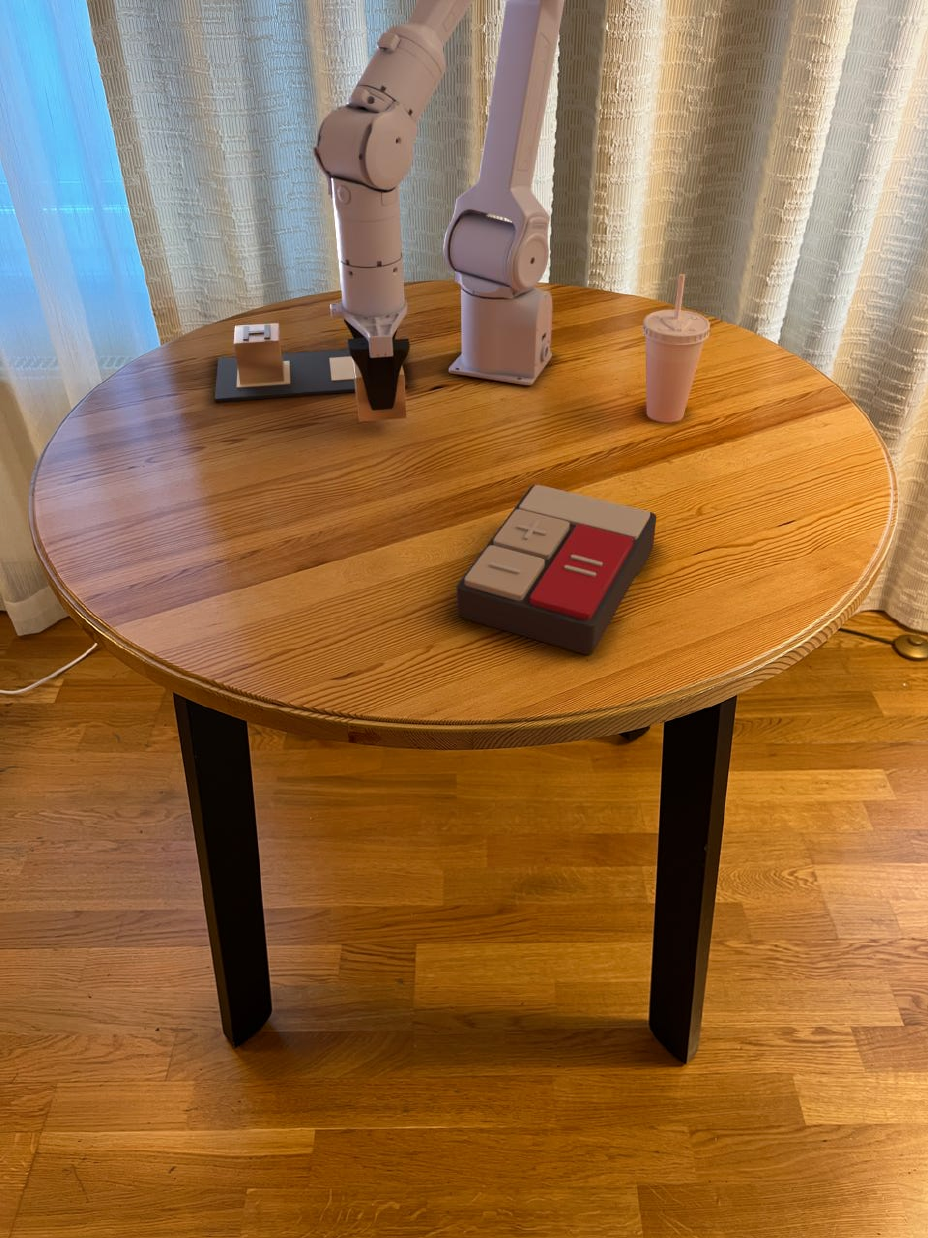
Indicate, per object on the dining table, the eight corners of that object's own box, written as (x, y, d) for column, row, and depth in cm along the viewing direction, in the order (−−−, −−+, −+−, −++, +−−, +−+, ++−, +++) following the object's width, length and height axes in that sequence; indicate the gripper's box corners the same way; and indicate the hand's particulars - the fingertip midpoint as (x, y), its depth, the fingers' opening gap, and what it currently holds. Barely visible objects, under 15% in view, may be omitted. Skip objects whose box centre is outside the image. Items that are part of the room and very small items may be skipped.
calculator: (453, 579, 75) (532, 475, 85) (455, 622, 78) (531, 517, 88) (594, 619, 72) (659, 505, 82) (590, 663, 75) (654, 548, 85)
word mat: (397, 348, 116) (397, 344, 115) (407, 388, 108) (406, 383, 108) (218, 361, 113) (218, 357, 113) (215, 402, 106) (214, 398, 105)
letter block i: (401, 396, 102) (399, 352, 99) (406, 418, 99) (404, 372, 96) (356, 400, 102) (352, 355, 99) (359, 421, 98) (355, 376, 95)
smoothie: (694, 400, 105) (714, 265, 97) (699, 430, 100) (721, 290, 92) (632, 398, 106) (646, 263, 97) (633, 427, 101) (649, 288, 92)
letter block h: (283, 362, 112) (278, 321, 109) (284, 381, 108) (278, 339, 105) (241, 365, 111) (234, 324, 108) (240, 384, 108) (233, 342, 105)
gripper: (322, 231, 96) (335, 366, 105) (329, 289, 85) (343, 434, 94) (396, 227, 97) (403, 361, 105) (413, 284, 86) (419, 428, 94)
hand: (380, 395), depth 100 cm, fingers closed on letter block i, 4 cm apart
